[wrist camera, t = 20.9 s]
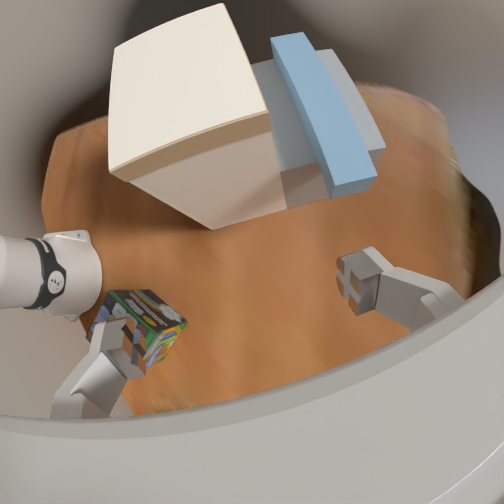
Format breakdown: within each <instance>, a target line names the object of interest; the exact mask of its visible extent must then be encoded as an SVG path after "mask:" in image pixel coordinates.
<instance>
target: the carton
mask: <svg viewBox="0 0 504 504" xmlns="http://www.w3.org/2000/svg"><path fill="white" fill-rule="evenodd" d="M271 131H272V126H271V121H270V117H269V112H268V109H267V107H266V104H265V101H264V99H263V96H262V93H261V91H260V88H259V86H258V83H257V80H256V78H255V75H254V73H253V70H252V68H251V65H250V63H249V60H248V58H247V56H246V53H245V51H244V48H243V46H242V44H241V42H240V39H239V37H238V34H237V32H236V30H235V27H234V25H233V23H232V21H231V18H230V16H229V14H228V12H227V10H226V8H225V5H224V4H223V3H221V4H217V5H214V6H211V7H207V8H204V9H201V10H198V11H195V12H193V13H190V14H187V15H184V16H182V17H179V18H177V19H174V20H172V21H169V22H167V23H164V24H162V25H160V26H158V27H156V28H153V29H151V30H149V31H147V32H145V33H143V34H141V35H139V36H136V37H135V38H133V39H131V40H129V41H127V42H125V43H123V44H121V45H119V46H118V47H116V48H115V50H114V58H113V66H112V77H111V86H110V100H109V122H108V164H109V173H110V174H112V175H114V176H116V177H117V178H119V179H121V180H123V181H124V182H130V183H131V184H133V185H135V186H137V187H138V188H140V189H142V190H143V191H145V192H147V193H149V194H150V195H152V196H154V197H156V198H157V199H159V200H161V201H162V202H164V203H166V204H168V205H169V206H171V207H173V208H175V209H176V210H178V211H180V212H182V213H183V214H185V215H187V216H188V217H190V218H192V219H194V220H195V221H197V222H199V223H201V224H202V225H204V226H206V227H207V228H209V229H211V230H215V229H219V228H222V227H225V226H229V225H232V224H236V223H239V222H243V221H246V220H250V219H253V218H257V217H260V216H264V215H267V214H271V213H275V212H278V211H282V210H286V209H287V207H286V201H285V196H284V191H283V186H282V181H281V176H280V171H279V166H278V161H277V156H276V151H275V147H274V142H273V138H272V133H271Z"/></svg>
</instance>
